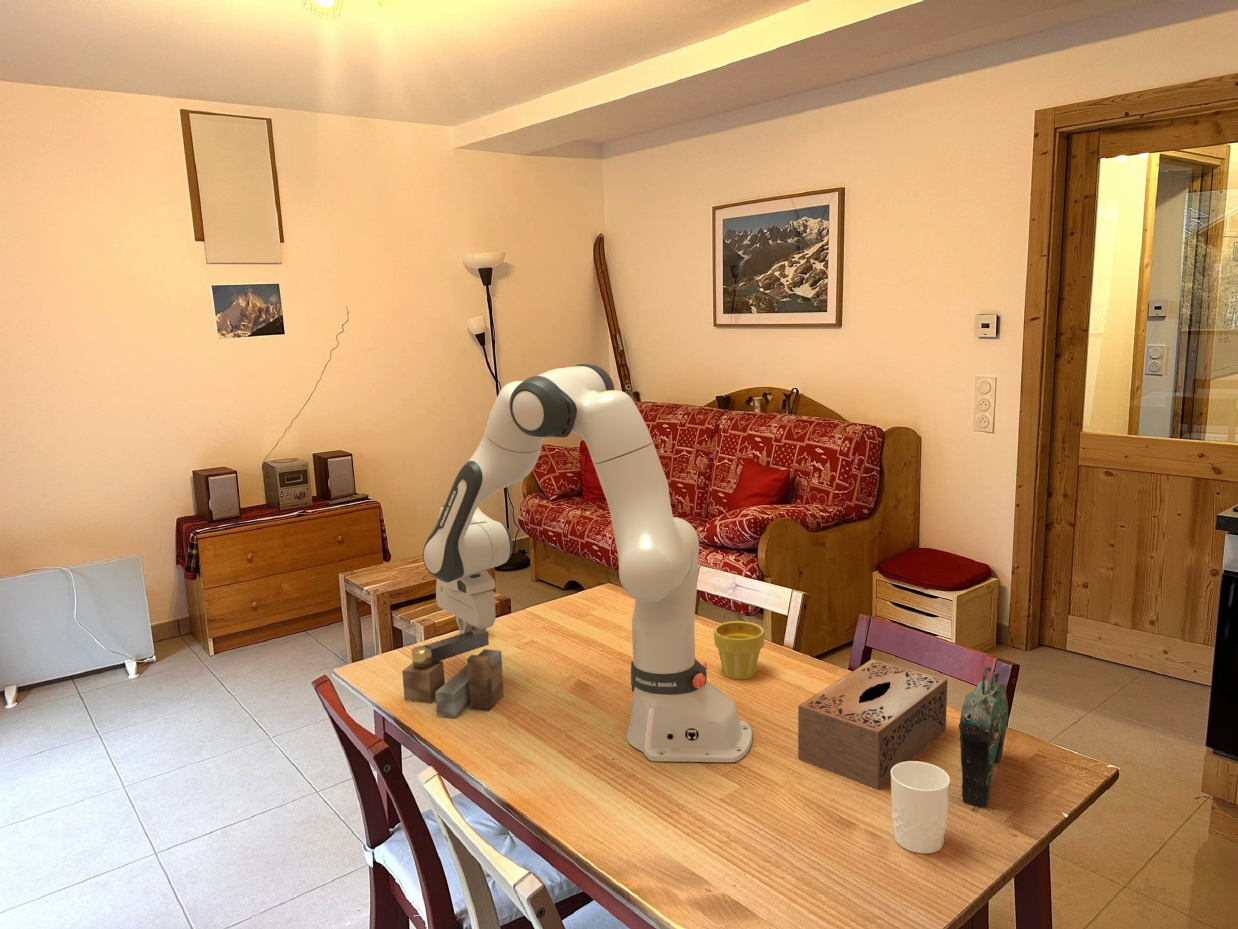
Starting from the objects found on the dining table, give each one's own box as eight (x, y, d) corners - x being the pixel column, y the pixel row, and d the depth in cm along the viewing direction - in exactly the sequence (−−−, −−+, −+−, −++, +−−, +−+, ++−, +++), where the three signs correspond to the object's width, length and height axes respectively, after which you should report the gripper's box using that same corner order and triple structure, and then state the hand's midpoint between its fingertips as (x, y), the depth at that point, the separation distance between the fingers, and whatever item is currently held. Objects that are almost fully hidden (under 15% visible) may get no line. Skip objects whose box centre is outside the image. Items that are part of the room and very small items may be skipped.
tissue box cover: (877, 791, 134) (878, 732, 132) (798, 761, 144) (798, 705, 142) (945, 731, 152) (947, 679, 150) (871, 708, 162) (872, 658, 160)
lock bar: (418, 669, 170) (417, 654, 169) (409, 663, 173) (407, 649, 172) (490, 645, 181) (489, 632, 180) (479, 640, 184) (479, 627, 183)
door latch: (523, 674, 182) (521, 628, 181) (479, 721, 162) (476, 669, 160) (444, 667, 188) (441, 622, 186) (391, 711, 167) (387, 661, 165)
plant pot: (763, 684, 173) (763, 639, 172) (713, 682, 175) (712, 637, 174) (764, 664, 183) (764, 621, 182) (716, 662, 185) (715, 620, 184)
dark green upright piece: (992, 817, 126) (997, 690, 122) (946, 804, 129) (950, 681, 126) (1012, 757, 142) (1018, 644, 139) (971, 748, 146) (976, 637, 142)
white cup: (934, 822, 125) (936, 759, 123) (957, 855, 117) (959, 789, 115) (881, 825, 125) (882, 762, 123) (900, 858, 117) (902, 792, 115)
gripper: (426, 567, 186) (430, 627, 188) (472, 589, 170) (475, 654, 172) (452, 561, 190) (456, 620, 192) (499, 582, 174) (502, 646, 176)
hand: (466, 636), depth 182 cm, fingers closed
